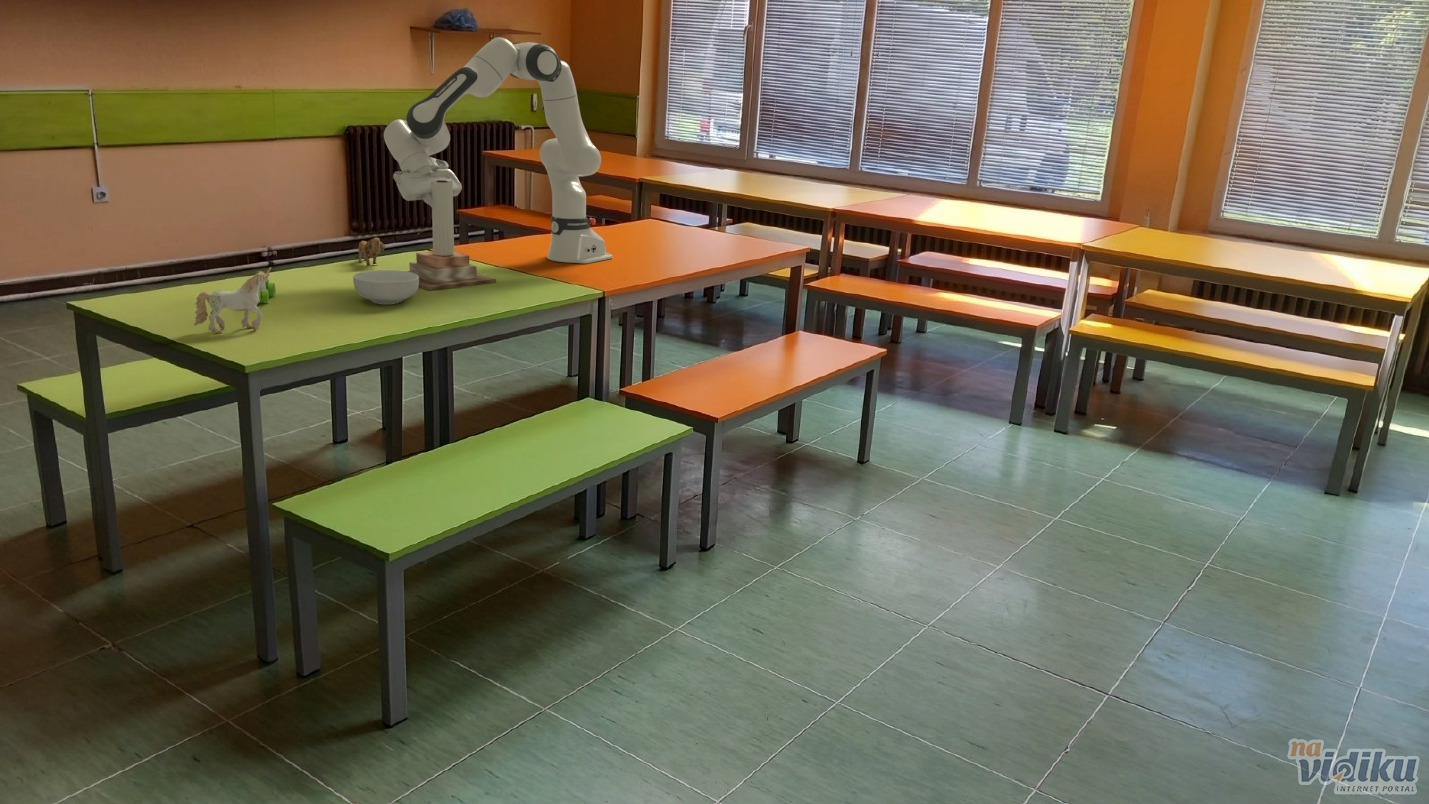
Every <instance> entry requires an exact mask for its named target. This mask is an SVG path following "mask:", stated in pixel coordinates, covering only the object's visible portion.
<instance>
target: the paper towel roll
mask: <svg viewBox="0 0 1429 804" xmlns="http://www.w3.org/2000/svg"><path fill="white" fill-rule="evenodd" d="M431 193H432V198H431V199H433V202H434V203H435V205H436V208H435V210H433V209H432V208H431V218H432V219H431V220H432V226H431V227H432V251H433V254H434V255H439V256H450V255H454V251H455V237H454V236H455V235H454V232H455V231H454V228H455V227H454V196H453V182H452V181H450V180H449V181H445V180H437V181H431Z"/></svg>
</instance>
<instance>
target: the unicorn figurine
mask: <svg viewBox="0 0 1429 804" xmlns="http://www.w3.org/2000/svg"><path fill="white" fill-rule="evenodd" d="M271 269H272V267H269V268H268V269H267V270H266V272H265V273H263V272H261V271H262V270H259V271H260V272H259V273H258V274H256V273H255V274H254V275H253V276H251V278H249V279H247V280H246V281H245V282H244V283H243V284H242V285H241V286H240V288H237V289H236V290H233V291H229V290H227V291H226V290H216V291H212V292H206V291H203V292H202V291H201V292H200V293H199V294H198V296H197V297H196V302H195V305H196V307H195V308H196V309H197V310H195V311H194V314H196V316H195V318H194V319H195V322H194V324H193V325H194V326H197V325H201V324H203V323H205V322H206V321H207V319H208V318H209V324H208V330H209V331H210V333H213V332H214V333H215V334H217V335H221V334H222V333H223V331H222V330H225V326H226V324H225V319H224V318H222V317H221V316H220V312H221V311H222V310H223V309H229V310H234V311H240V310H244V316H243V318H242V320H241V322H240V323H241V326H242V328H243V329H244V328H245V327H246V328H247V329H248V328H249V329H252V330H254V331H253V332H256V331H257V330H259V327H260V326H261V325H262V324H261V322H262V319H263V312H261V310H260V309H259V308H258V304H259V303H258V301H259V297H258V292H259V289H260V291H264V290H266V287H265V283H266V282H267V279H268V280H269V277H270V275H271V273H270V272H271ZM206 302H207V303H208V306H209V307H210V308H211V311H210V313H209V314H210V315H209V314H208V311H207V305H206ZM250 311H251V312H253V313H255V314H256V315H257V318H256V319H254V320H253V321H252V322H251V323H250V322H249V315H250ZM208 315H209V316H208ZM215 319H216V320H215ZM216 324H218V327H219V328H218V327H217V326H216ZM251 327H253V328H251ZM221 329H222V330H221Z"/></svg>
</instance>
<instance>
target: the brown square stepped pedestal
mask: <svg viewBox="0 0 1429 804" xmlns="http://www.w3.org/2000/svg"><path fill="white" fill-rule="evenodd" d="M415 255H416V257H415V258H416V259H415V261H413V262H412V261H410V262H409V270H406V272H411V273H415V274H417V275H418V276H419V285H418V288H422V289H423V290H424V289H425V290H428V291H439V290H445V289H455V288H461V287H462V288H463V287H469V286H477V285H485V284H492V283H493V284H494V283H497V279H496V278H494V277H491V276H488V275H486V274H482V273H479V272H477V269H478V268H477V267H478V266H477V265H474V264H471V263H470V255H467V254H464V253H461V252H457V251H455V250H454V255H450V256H439V255H434V254H433V250H432V251H422V252H421V251H419V252H416V254H415Z"/></svg>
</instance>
